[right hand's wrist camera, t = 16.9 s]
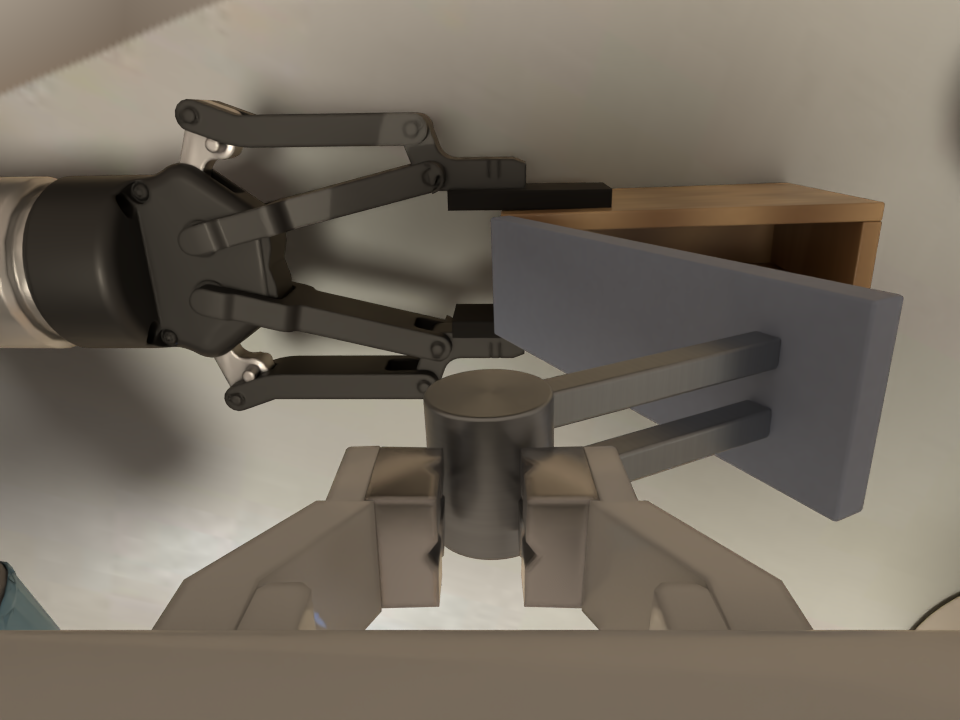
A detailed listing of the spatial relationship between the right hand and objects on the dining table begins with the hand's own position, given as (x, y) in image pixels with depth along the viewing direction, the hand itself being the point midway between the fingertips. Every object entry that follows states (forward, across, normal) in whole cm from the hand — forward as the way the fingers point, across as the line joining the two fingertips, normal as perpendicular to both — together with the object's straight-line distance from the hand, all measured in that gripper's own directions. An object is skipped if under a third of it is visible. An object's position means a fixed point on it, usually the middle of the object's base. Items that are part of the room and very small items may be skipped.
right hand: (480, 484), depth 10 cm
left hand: (+18, -5, 0) cm, 19 cm away
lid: (+9, -5, 0) cm, 10 cm away
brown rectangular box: (+25, -8, 0) cm, 26 cm away
